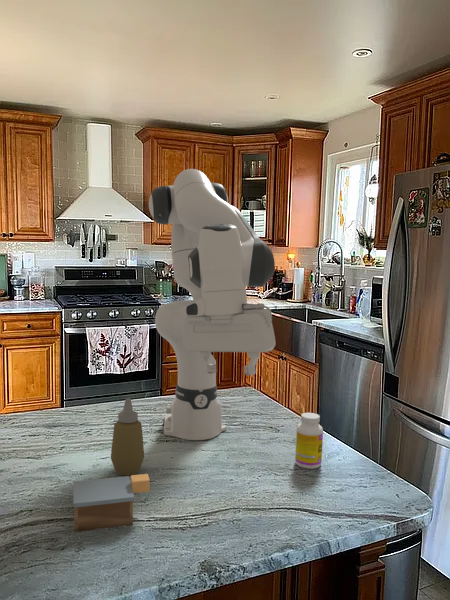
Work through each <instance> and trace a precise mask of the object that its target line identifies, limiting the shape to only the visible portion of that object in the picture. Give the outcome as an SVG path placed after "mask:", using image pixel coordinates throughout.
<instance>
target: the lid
mask: <svg viewBox="0 0 450 600" xmlns="http://www.w3.org/2000/svg"><path fill="white" fill-rule="evenodd" d="M150 481H151V478H150V477H149V474H148V473H144V474H143V473H142V474H133V475H124V476H117V477H106V478H96V479H87V480H86V479H84V480H77V481H76V480H75V481H72V483H73V485H72V491H73V493H72V495H73V498H72V499H73V501H72V502H73V503H72V504H73V509H74V508H75V507H84V506H93V505H102V504H111V503H120V502H129V501H133V502H134V501H135V495H134V494H138V493H146V492H147V493H149V492H151V491H150V489H151V482H150Z"/></svg>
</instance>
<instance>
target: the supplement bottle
mask: <svg viewBox="0 0 450 600" xmlns="http://www.w3.org/2000/svg"><path fill="white" fill-rule="evenodd" d="M300 416H301V417H300V421H301V422H300V423H299V424H297V426H296V435H295V437H296V438H295V454H294V455H295V456H294V458H295V459H294V461H295V464H296V465H297V466H298V467H300V468H304V469H308V470H313V469H317V468H320V467H321V465H322V459H323V455H322V454H323V438H324V437H323V436H324V435H323V434H324V429H323V426H322V425H320V421H321V419H320V418H321V415H320V414H318V413H313V412H303V413H301V414H300Z"/></svg>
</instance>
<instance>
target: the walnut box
mask: <svg viewBox="0 0 450 600" xmlns="http://www.w3.org/2000/svg"><path fill="white" fill-rule="evenodd" d="M73 509H74V511H73V512H74V515H73V516H74V518H73V519H74V532H75V533H77V532H83V531H84V532H85V531H92V530H101V529H107V528H108V529H110V528H117V527H124V526H125V527H126V526H132V525H134V524H133V522H134V501H129V502H120V503H111V504H102V505H93V506H84V507H75V508H74V507H73Z"/></svg>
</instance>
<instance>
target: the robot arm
mask: <svg viewBox="0 0 450 600" xmlns="http://www.w3.org/2000/svg"><path fill="white" fill-rule="evenodd" d="M148 209H149V213H150V215H151V217H152V220H153V221H154V222H155V223H156V224H160V225H168V224H169V225H170V224H172V225H171V234H170V235H171V236H170V237H171V238H170V240H171V241H170V243H171V257H172V268H173V269H172V270H173V277H174V280H175V282H176V284H177V285H179V286H180V287H181V288H182V289H185V290H186V291H188V292H189V294H190V295H191V297H192V299H191V300H187V299H186V300H176V301H171V302H168V303H165V304H162V305H160V307H158V309H157V311H156V313H155V317H154V325H155V329H156V330H157V332H158V334H159V335H160V336H161V337H162V338H163V339H164V340H166V341H167V342H168V343H169V345H170V346H171V347H172V349H173V351H174V353H175V354H174V355H175V357H176V362H177V364H176V365H177V383H176V385H175V390H174V391H175V394H174V395H175V397H174V398H173V400H172V401H171V405H167V406H166V409H165V410H166V411H165V412H166V414H165V415H164V422H163V435H166V436H170V437H171V436H172V437H176V438H179V439H183V440H188V441H203V440H209V439H213V438H215V437H217V436H219V435H220V434H221V433H222V432H225V431H227V425H226V424H224V423H223V420H222V415H223V414H222V403H221V402H220V400H218V399H217V397H218V385H217V384H216V382H217V381H216V380H217V379H216V378H217V377H216V376H217V361H216V359H215V357H214V355H213V354H212V353H247V358H249V359H250V360H248V361H249V362H248V365H245V366H244V367H243V368H244V375H245V376H254V375H256V373H257V372H256V365H257V363H258V361H259V358H260V357H261V356H260V355H261V354H260V353H266V352H267V353H268V352H271V351H273V350H274V348H275V347H276V336H275V335H276V334H275V331H274V325H273V316H272V315H273V313H272V310H271V308H270V307H268V306H267V305H265V303H248V301H247V300H248V299H247V297H248V296H247V287H248V288H262V287H264V285H266V284H267V283H268V282H269V281H270V280H271V279H272V278H273V276H274V274H275V269H276V268H275V266H276V264H275V263H276V261H275V258H274V253H273V251H272V249H271V248H270V246H268V244H267V243H265V241H264V240H263V239H261V238H260V237H259V235H257V233H256V231H255V230H254V228H252V225H250V223H249V222H248V221H247V219H246V217H245V216H244V215H243V214H242V212H241V211H240V210H239V209H238V208H237V207H235V206H234V205H232V204H230V203H229V197H228V194H227V192H226V188H225V187H224V186H223V185H222V183H221V184H220V183H217V182H211V181H210V178H208V177H207V175H206V174H205V173H204V172H202V171H201V170H198V169H196V168H188V169H185V170H182V171H181V172H180V173H178V174H177V175H176V177H175V179H174V181H173V185H172V184H171V185H161V186H158V187H155V188H154V189H153V190H152V191H151V192H150V196H149V199H148Z"/></svg>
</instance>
